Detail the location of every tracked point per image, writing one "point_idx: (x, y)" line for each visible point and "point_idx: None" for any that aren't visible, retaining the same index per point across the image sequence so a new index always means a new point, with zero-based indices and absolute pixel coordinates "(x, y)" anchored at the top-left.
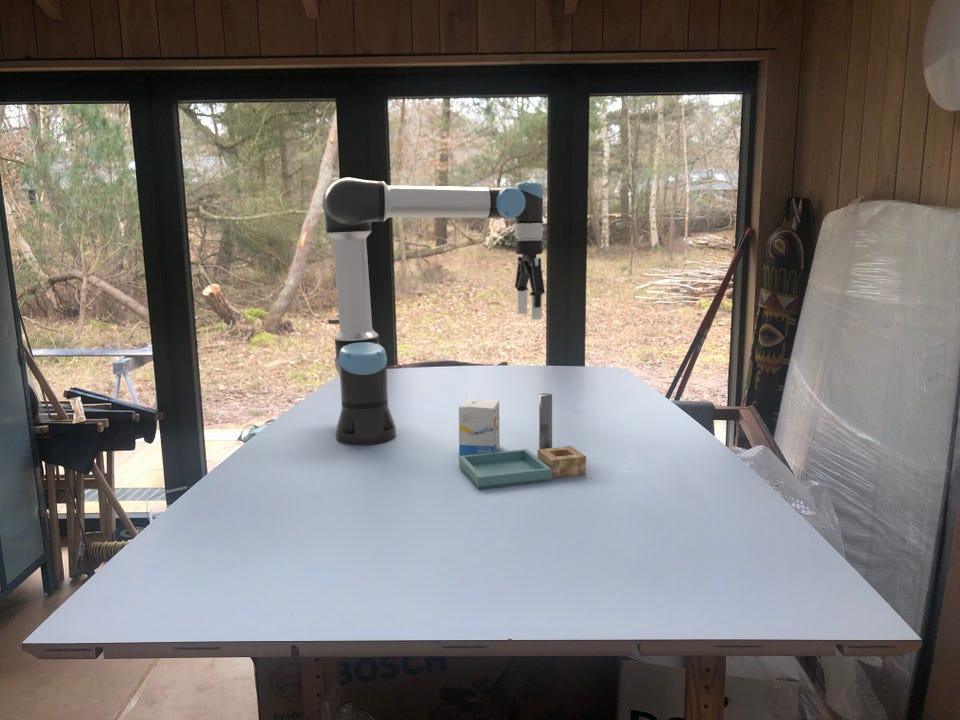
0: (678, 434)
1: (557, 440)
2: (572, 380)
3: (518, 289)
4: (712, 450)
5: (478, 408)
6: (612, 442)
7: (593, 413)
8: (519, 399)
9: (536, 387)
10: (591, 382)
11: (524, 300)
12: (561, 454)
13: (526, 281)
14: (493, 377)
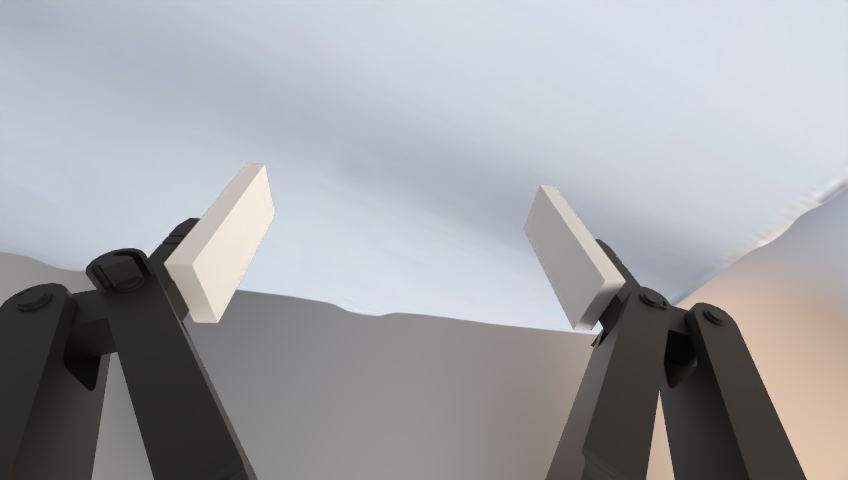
0: None
1: (97, 19)
2: None
3: (628, 297)
4: (74, 253)
5: None
6: (100, 135)
7: (337, 193)
8: (518, 97)
9: (594, 179)
10: None
11: (554, 266)
12: None
13: (579, 396)
14: (761, 126)
